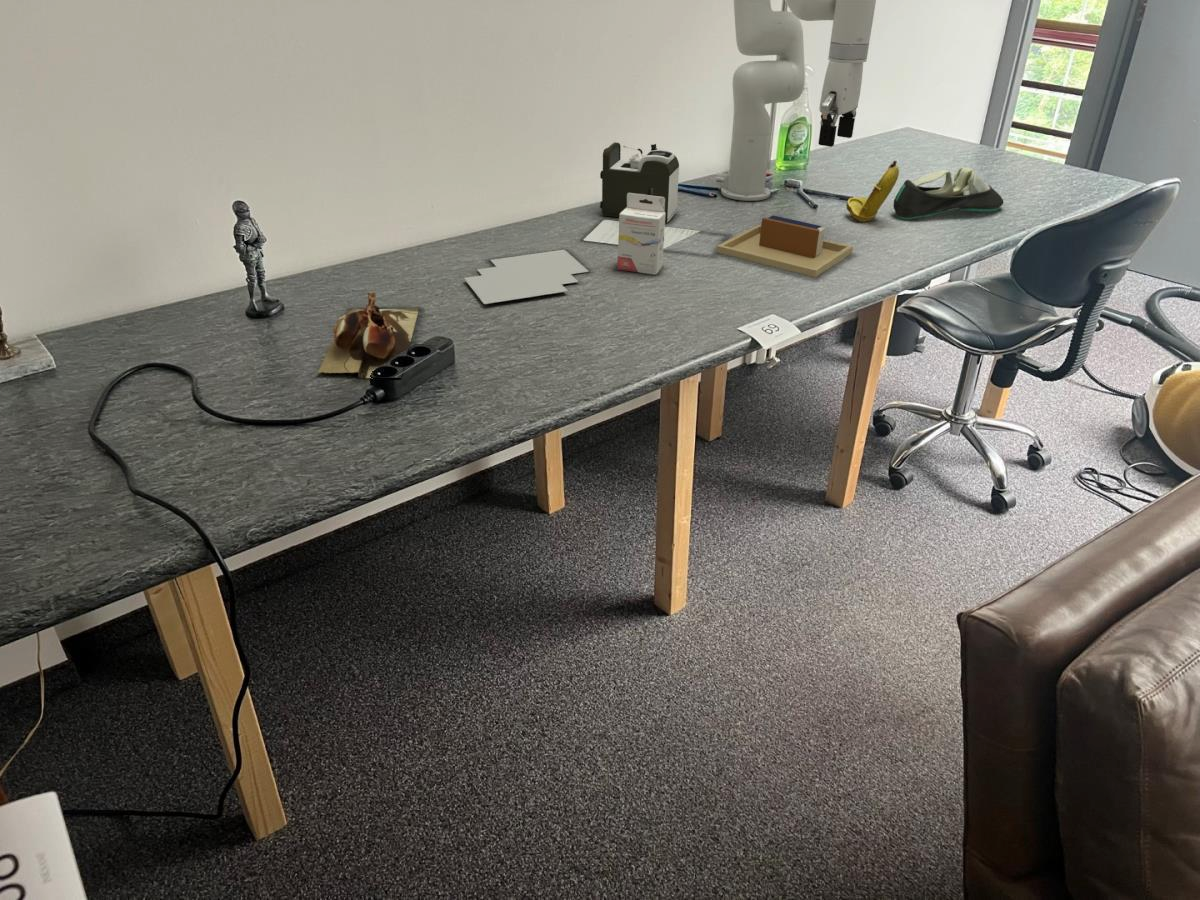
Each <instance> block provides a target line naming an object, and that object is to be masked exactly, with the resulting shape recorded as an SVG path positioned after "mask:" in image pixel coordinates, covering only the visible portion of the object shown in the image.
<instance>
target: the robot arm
mask: <svg viewBox="0 0 1200 900" xmlns="http://www.w3.org/2000/svg"><path fill="white" fill-rule="evenodd" d="M784 2H785V4H786V6H787V7H788V9H789V10H790V11H788V10H775V11H774V10H773V9H772V6H771V0H733V13H734V29H735V40H736V41H735V42H736V46H737V50H738V52H739V53H740V54H741V55H743V56H749V57H762V56H763V57H764V56H776V58H777V60H754V61H748V62H745V63H742V64H741V65H739V66H738V67H737V68H736V69H735V71H734V73H733V76H732V83H731V84H732V95H733V96H732V97H733V98H732V99H733V116H732V117H733V119H732V130H731V131H732V132H731V143H730V152H729V153H730V154H729V166H728V173H725V172H720V171H718V172H717V173H716V175H715V182H717V183H722V184H723V186H722V187H721V188H720V194H721V195H722V196H723V197H724V198H727V199H730V200H734V201H742V202H756V201H757V202H758V201H764V200H766V199H769V197H770V196H771V189H770V188H768V187H766V182H767V172H768V162H769V155H770V146H771V137H772V127H773V125H772V124H773V123H772V119H771V116H770V114H769V113H768V111H767V109H766V105H769V104H780V103H781V104H782V103H791V102H795V101H797V100H798V99H799V98H800V97H801V96H802V94H803V92H804V89H805V81H806V74H805V73H806V71H805V49H804V47H805V45H804V31H803V25H802V23H801V21H805V22H815V21H818V22H819V21H832V28H831V35H830V43H829V48H828V49H829V51H828V57H827V60H828V64H827V67H826V71H825V76H824V80H823V85H822V89H821V97H820V103H819V108H818V110H819V112H820V113H821V114H820V119H821V120H820V123H819V124H820V127H819V137H818V146H823V147H824V146H825V147H830V148H832V147H834V146H835V141H836V135H837V137H840V138H847V139H851V138H853V135H854V134H853V133H854V128H855V121H856V116H857V108H858V106H859V102H860V96H861V89H862V83H863V73H864V63H865V62H867V60H868V54H869V49H870V48H869V47H870V41H871V36H872V35H871V34H872V28H873V22H874V16H875V11H876V3H877V0H784ZM832 116H833V117H832ZM837 121H838V126H837V125H836V124H837Z"/></svg>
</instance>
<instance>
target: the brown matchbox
mask: <svg viewBox="0 0 1200 900" xmlns="http://www.w3.org/2000/svg"><path fill="white" fill-rule="evenodd" d="M760 225H761V233H760V242H759V245H760V246H764V247H768V248H772V249H777V250H781V251H785V252H789V253H793V254H797V255H801V256H806V257H810V258H815V257H816V256H817V255H818V254H820V253H821V251H822V245H823V240H824V237H825V231H826V228H825V227H822V225H819V224H815V223H809V222H805V221H800V220H797V219H796V220H795V219H792V218H791V219H790V218H787V217H783V216H778V215H770V216H768V217H762V218H761V224H760Z"/></svg>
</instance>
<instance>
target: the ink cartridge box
mask: <svg viewBox="0 0 1200 900" xmlns="http://www.w3.org/2000/svg"><path fill="white" fill-rule="evenodd" d="M644 199H647V200H648V201H652V202H653V203H652V204H646V203H640V202H639V200H644ZM665 214H666V213H665V198H664V197H659V196H652V195H644V194H634V193H628V194H627V208H625V209H624V210H623V211H622V212H621V213H620V214H619V217H618V221H619V238H618V245H617V270H619V271H628V272H635V273H642V274H646V275H652V276H653V275H654V276H656V275H658V273H659V272H660V270H661V269H662V268H663V263H664V249H663V247H664V230H665V227H666V222H665Z"/></svg>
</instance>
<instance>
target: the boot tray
mask: <svg viewBox="0 0 1200 900" xmlns="http://www.w3.org/2000/svg"><path fill="white" fill-rule="evenodd" d="M760 233H761V224H756V225H754V226H753V227H750V228H748V229H747V230H745V231H743V232H741V233H739V234H737V235H735V236H733V237H731V238H729V239H727V240H725V241H723V242H722V243H719V244H717V246H716V254H720V255H723V256H728V257H732V258H736V259H739V260H743V261H747V262H751V263H755V264H760V265H764V266H768V267H771V268H776V269H780V270H783V271H786V272H791V273H795V274H799V275H803V276H806V277H810V278H814V279H815V278H817V277H818V276H820V275H821V274H823V273H825V272H827V271H828V270H829V269H830V268H832V267H834V266H835V265H837V264H838V263H840V262H841V261H843V260H844V259H846V258H847V257H849V256H850V255H852V254H853V249H854V246H853V245H849V244H844V243H841V242H836V241H831V240H828V239H823V245H822V251H821V253H820V254H818V255H817V256H816V257H815V258H810V257H806V256H801V255H797V254H793V253H789V252H785V251H781V250H777V249H772V248H768V247H764V246H760V245H759V242H760Z"/></svg>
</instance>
